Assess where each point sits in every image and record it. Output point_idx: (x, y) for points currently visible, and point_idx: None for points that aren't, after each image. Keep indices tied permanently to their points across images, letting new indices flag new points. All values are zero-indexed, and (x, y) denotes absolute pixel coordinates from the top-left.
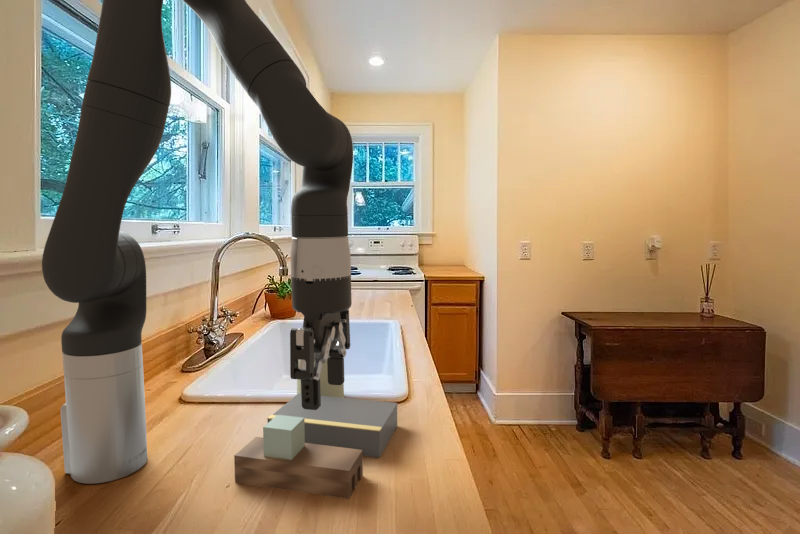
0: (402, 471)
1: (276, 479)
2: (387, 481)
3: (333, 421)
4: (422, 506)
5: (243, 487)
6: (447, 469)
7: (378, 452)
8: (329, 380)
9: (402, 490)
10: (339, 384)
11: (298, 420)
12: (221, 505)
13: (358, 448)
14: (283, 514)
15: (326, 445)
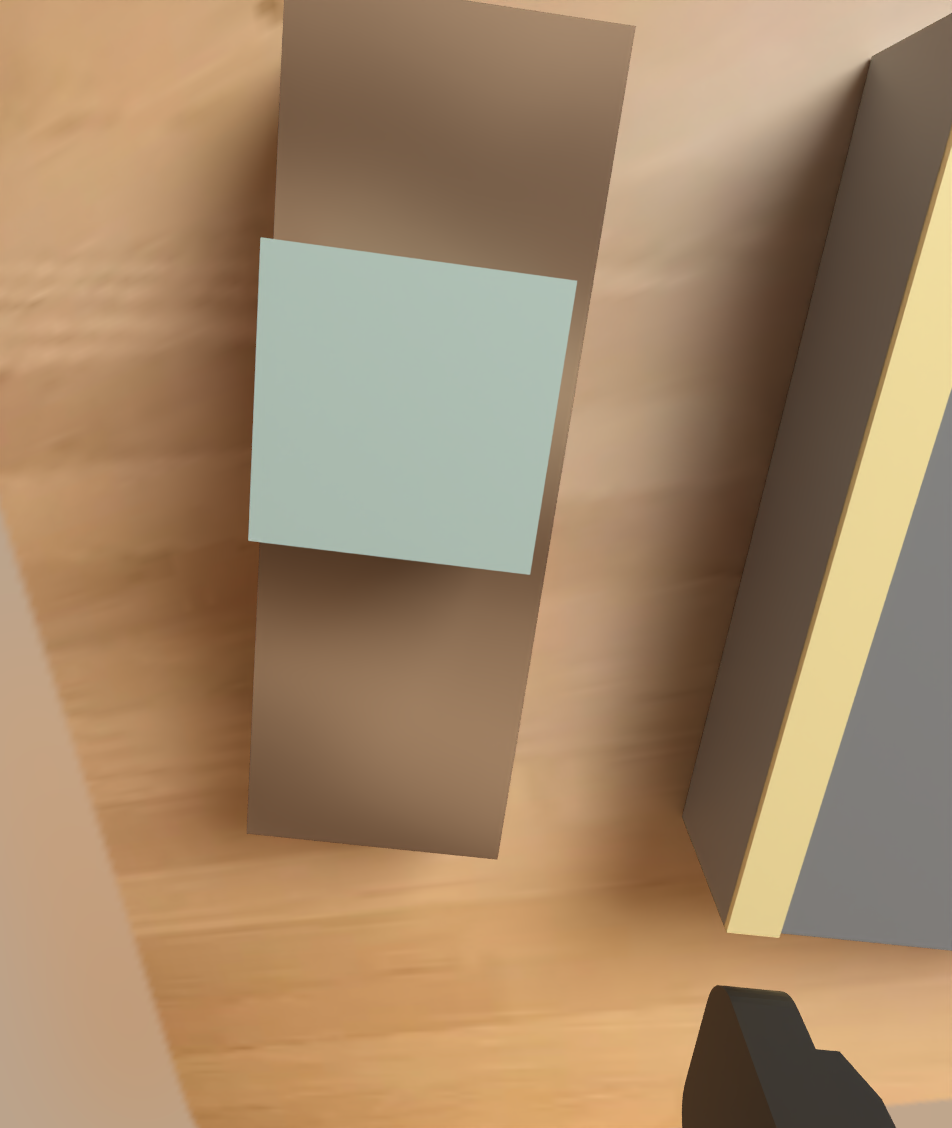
0: (553, 925)
1: None
2: (457, 875)
3: (894, 617)
4: (291, 1012)
5: None
6: (587, 1086)
7: (690, 829)
8: (730, 1027)
9: (393, 938)
10: (687, 1093)
11: (465, 539)
12: (72, 74)
13: (720, 730)
14: (91, 473)
15: (530, 646)
